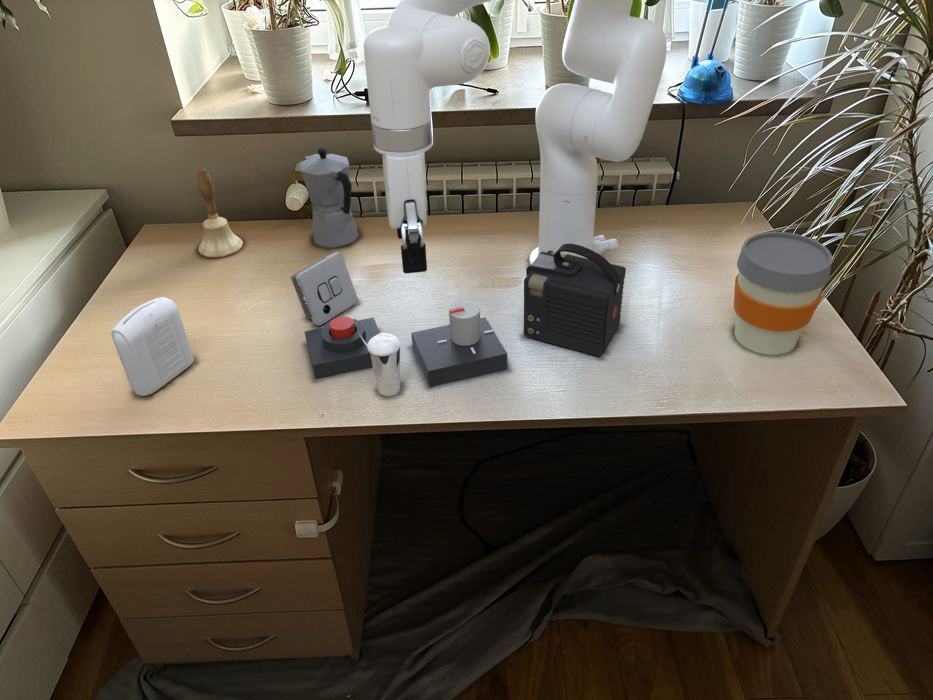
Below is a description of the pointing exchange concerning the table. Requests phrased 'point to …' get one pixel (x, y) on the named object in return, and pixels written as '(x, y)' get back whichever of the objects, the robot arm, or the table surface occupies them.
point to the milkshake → (385, 362)
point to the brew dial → (465, 323)
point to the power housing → (340, 349)
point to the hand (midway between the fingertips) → (411, 253)
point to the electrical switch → (325, 289)
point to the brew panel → (457, 355)
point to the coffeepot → (329, 198)
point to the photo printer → (152, 345)
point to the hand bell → (215, 224)
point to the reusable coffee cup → (778, 289)
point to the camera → (573, 299)
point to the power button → (342, 327)
